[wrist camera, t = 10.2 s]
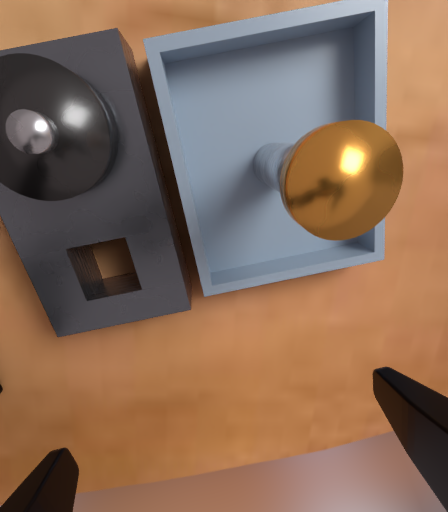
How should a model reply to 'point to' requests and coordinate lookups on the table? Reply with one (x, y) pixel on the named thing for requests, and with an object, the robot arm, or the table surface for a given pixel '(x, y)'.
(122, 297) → the grey holder base
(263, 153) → the lock pin
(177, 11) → the table surface
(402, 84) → the table surface
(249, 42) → the tray
